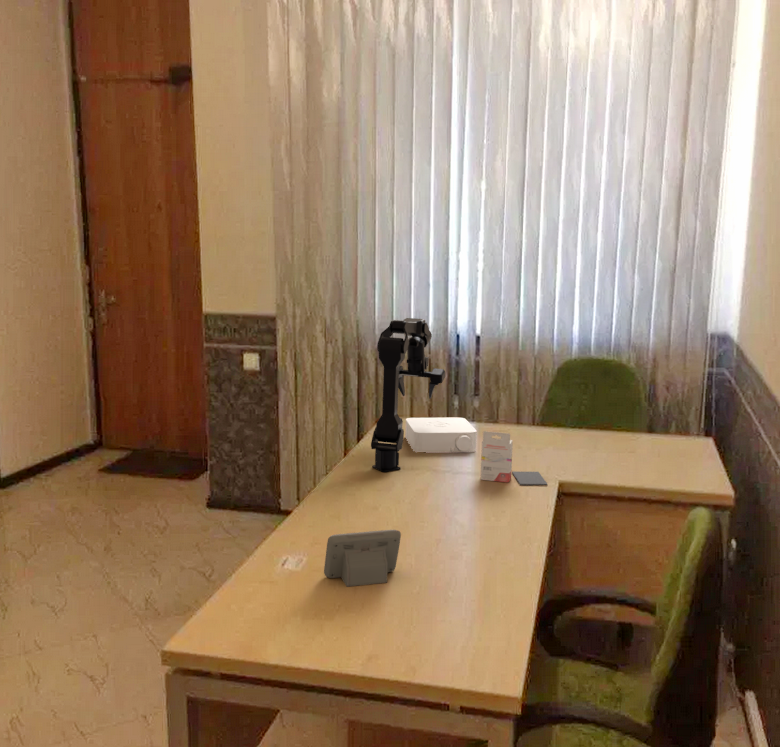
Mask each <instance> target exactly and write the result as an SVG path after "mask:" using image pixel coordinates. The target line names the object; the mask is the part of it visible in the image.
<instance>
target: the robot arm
mask: <svg viewBox="0 0 780 747" xmlns="http://www.w3.org/2000/svg"><path fill="white" fill-rule="evenodd" d="M393 334H399V335H403V336H404V338H402V337H392V336H393ZM410 336H411V337H410ZM431 340H432V333H431V331H430V328H429V325H428V323H427V322H426V319H425V318H414V317H413V318H412V317H411V318H410V317H406V318H404V319H403V320H397V319H396V320H395V319H393V320H390V323H389V326H388V327H387V328H385V329H384V330H383V331H382V332H381V333H380V336H379V337H378V341H377V346H376V347H377V348H376V349H377V352H378V359H379V361H380V363H381V364H382V367H383V376H382V378H383V380H382V381H383V383H382V405H381V406H382V407H381V408H382V412H381V415H380V417H379V419H378V420H377V422H376V426H375V428H374V430H373V434H372V436H371V440H370V441H371V442H370V447H371V450H375V455H374V457H375V458H374V464H372V465H371V467H372V468H373V469H376V470H378V471H379V472H382V473H386V472H391V471H398V470H401V468H402V467H401V466H399V465H400V464H399V463H400V461H399V458H400V453H399V451H401V450H402V449H403V443H404V435H405V434H404V432H405V431H404V428H403V423H404V420H403V418H401V417H400V416H399V414H398V407H399V404H398V402H399V393H401V395H402V397H405V396H406V390H405V389H406V388H405V380H404V378H405V377H417V378H429V381H430V382H429V383H428V397H429V399H432V397H433V395H434V394H433V392H434V390H435V387H436V386H439V385H440V384H442V383H443V382H444V380H445V379H446V371H445V369H444V368H433V369H432V371H427V369H428V367H429V359H430V358H429V356H426V354H425V348H426V347H427V346H428V345H429V342H430V341H431ZM406 356H407V357H406ZM405 357H406V364H407V369H404V367H403V365H401V364H402V363H403V361H404V360H405ZM399 391H400V392H399Z"/></svg>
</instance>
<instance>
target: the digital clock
mask: <svg viewBox="0 0 780 747" xmlns="http://www.w3.org/2000/svg"><path fill="white" fill-rule="evenodd" d="M401 536H402V534H401V531H400V530H397V529H384V530H383V529H382V530H369V531H361V532H360V531H359V532H349V533H338V534H332V535H330V536H329V537H328V538H327V542H326V550H325V559H324V560H325V561H324V566H323V574H324V576H325V577H326V578H328V579H334V578H341V580H342V581H343V583H344V585H345V586H346V587H347V588H349V587H357V586H358V587H359V586H365V585H366V586H367V585H368V586H369V585H378V584H386V583H388V573H391V572H394V571H395V569H396V567H397V561H398V557H399V556H398V555H399V550H400V544H401Z"/></svg>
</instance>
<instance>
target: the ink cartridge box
mask: <svg viewBox="0 0 780 747" xmlns="http://www.w3.org/2000/svg"><path fill="white" fill-rule="evenodd" d="M495 436H497V437H499V438H497V437H496V438H493V437H495ZM513 443H514V441H513V439H511V434H510V433H507V432H506V433H505V432H500V431H499V432H495V431H488V430H487V431H486V430H484V431H483V432H482V441H481V459H480V460H481V462H480V480H482V481H490V482H491V481H492V482H500V483H507V484H508V483H510V481H511V479H512V471H513V470H512V469H513V468H512V467H513V466H512V464H513Z"/></svg>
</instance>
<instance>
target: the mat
mask: <svg viewBox="0 0 780 747" xmlns="http://www.w3.org/2000/svg"><path fill="white" fill-rule="evenodd" d="M511 475H513V478H515V480H516V482H517V483H518V484H520V485H519V486H533V485H547V486H548V482H547V481H546V480H545V478H544V477H543V476H542V474H541V473H540V472H539V471H515V470H514V471H513V470H512V471H511Z"/></svg>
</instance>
